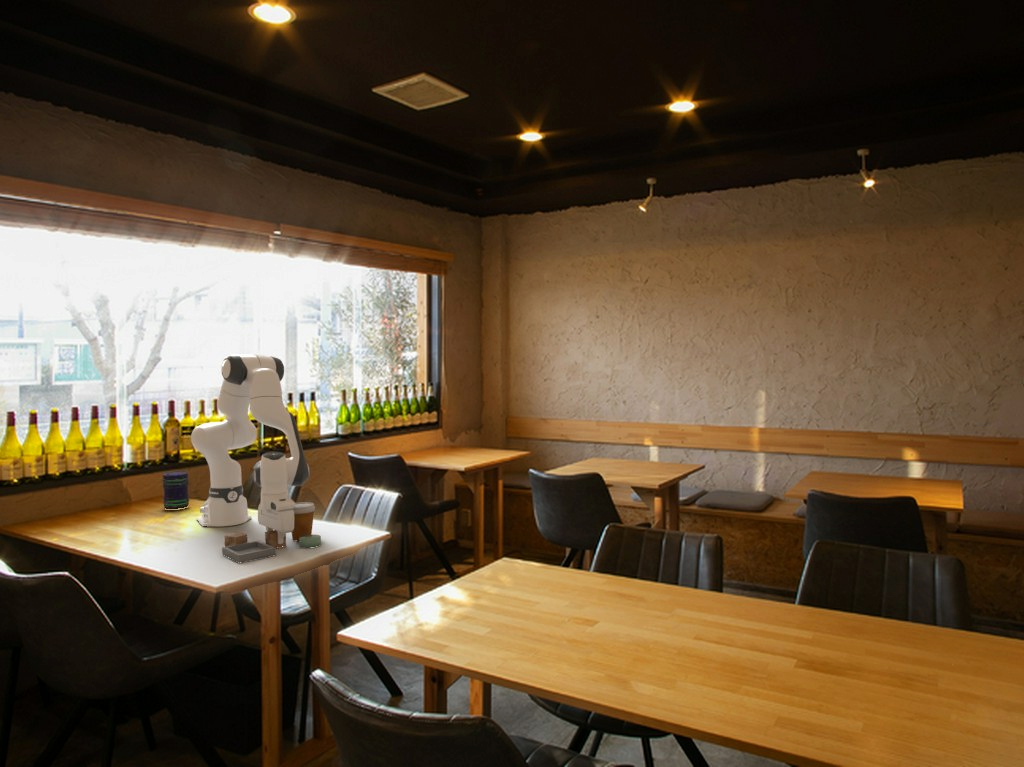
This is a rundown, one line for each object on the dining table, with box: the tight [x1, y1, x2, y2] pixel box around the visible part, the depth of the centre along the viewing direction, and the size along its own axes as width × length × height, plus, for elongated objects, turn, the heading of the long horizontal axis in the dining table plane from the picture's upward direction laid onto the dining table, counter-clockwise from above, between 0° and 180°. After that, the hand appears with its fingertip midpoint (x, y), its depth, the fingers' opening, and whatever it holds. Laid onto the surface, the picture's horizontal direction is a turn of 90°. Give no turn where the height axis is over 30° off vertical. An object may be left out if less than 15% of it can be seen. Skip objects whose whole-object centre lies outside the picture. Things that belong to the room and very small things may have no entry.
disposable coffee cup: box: [291, 501, 316, 542], centre depth 258 cm, size 10×10×12 cm
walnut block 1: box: [224, 531, 248, 547], centre depth 246 cm, size 5×5×5 cm
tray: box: [221, 540, 277, 564], centre depth 239 cm, size 13×12×2 cm
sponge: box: [299, 534, 322, 549], centre depth 250 cm, size 7×7×3 cm
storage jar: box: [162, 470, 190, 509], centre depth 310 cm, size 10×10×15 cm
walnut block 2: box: [264, 530, 287, 549], centre depth 249 cm, size 5×5×5 cm
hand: (275, 541), depth 249 cm, fingers closed on walnut block 2, 5 cm apart
